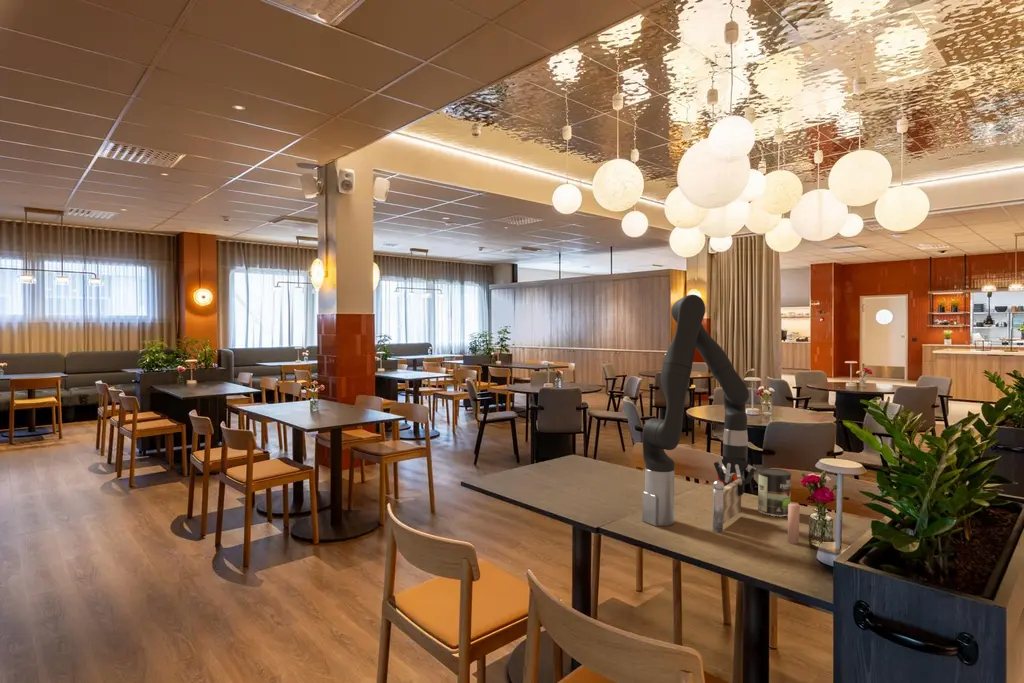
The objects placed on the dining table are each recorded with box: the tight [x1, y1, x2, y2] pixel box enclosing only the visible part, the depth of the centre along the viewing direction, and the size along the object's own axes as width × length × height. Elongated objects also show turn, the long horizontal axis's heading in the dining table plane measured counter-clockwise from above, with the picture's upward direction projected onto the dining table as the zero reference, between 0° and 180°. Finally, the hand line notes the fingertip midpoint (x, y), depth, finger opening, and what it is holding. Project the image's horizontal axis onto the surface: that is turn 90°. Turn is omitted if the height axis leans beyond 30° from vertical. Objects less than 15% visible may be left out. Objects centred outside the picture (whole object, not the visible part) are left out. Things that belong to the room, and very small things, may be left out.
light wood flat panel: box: [723, 480, 742, 525], centre depth 182 cm, size 17×2×10 cm, turn 139°
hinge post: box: [712, 479, 724, 533], centre depth 174 cm, size 3×3×16 cm
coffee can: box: [757, 467, 792, 518], centre depth 192 cm, size 10×10×14 cm
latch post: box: [787, 503, 801, 545], centre depth 165 cm, size 3×3×11 cm
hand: (734, 494), depth 185 cm, fingers open, 3 cm apart
